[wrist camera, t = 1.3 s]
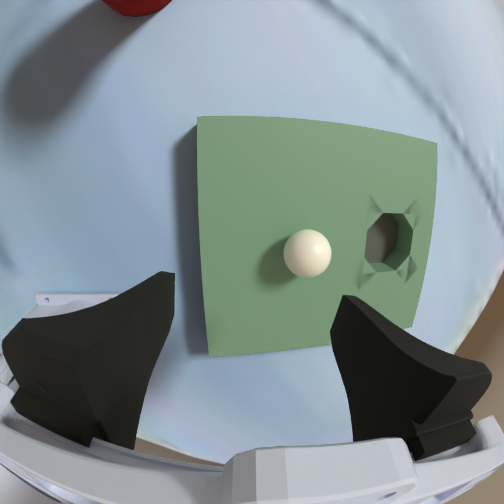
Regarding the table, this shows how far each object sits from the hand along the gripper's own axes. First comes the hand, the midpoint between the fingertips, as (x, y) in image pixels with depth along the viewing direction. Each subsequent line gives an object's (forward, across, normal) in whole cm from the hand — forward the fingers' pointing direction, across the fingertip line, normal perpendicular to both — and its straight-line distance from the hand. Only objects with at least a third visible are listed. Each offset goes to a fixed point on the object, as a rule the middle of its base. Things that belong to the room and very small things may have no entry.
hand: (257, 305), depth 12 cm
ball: (+7, -4, 0) cm, 8 cm away
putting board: (+12, -6, 0) cm, 13 cm away
